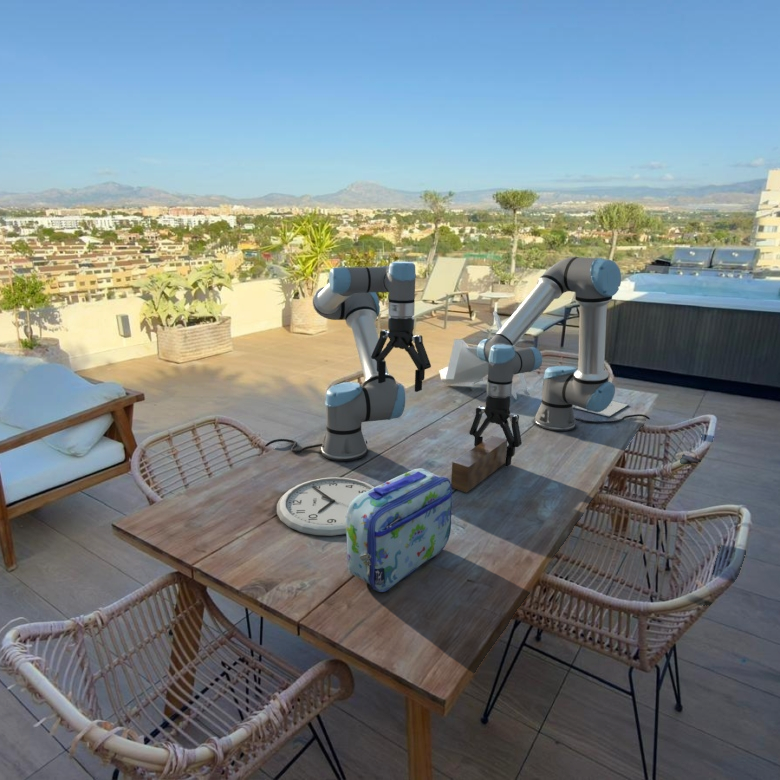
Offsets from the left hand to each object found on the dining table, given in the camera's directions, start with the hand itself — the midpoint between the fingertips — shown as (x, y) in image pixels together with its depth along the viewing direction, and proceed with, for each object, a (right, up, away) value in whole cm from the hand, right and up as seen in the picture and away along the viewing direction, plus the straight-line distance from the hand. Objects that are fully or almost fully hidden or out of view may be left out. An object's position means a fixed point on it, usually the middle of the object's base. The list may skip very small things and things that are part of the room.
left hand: (399, 386), depth 158 cm
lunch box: (-1, -41, -40) cm, 58 cm away
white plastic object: (+39, -2, +85) cm, 93 cm away
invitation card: (+89, -8, +68) cm, 112 cm away
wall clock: (-19, -33, -15) cm, 41 cm away
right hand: (+30, -24, +11) cm, 40 cm away
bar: (+25, -27, +4) cm, 37 cm away
